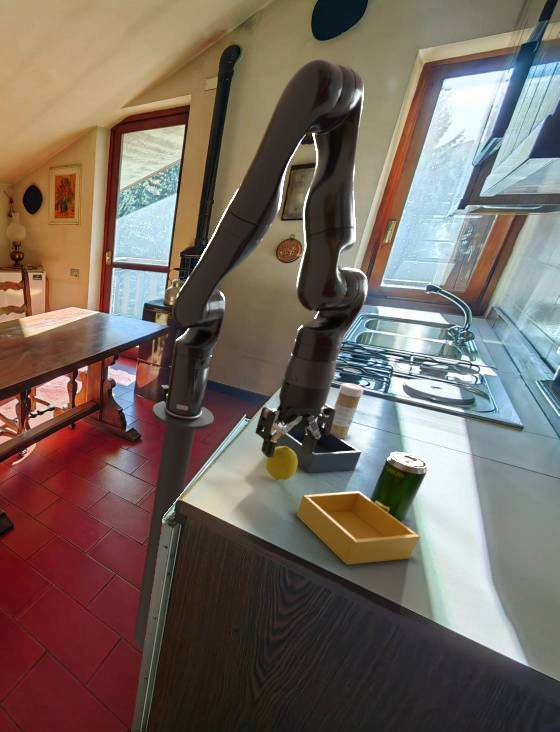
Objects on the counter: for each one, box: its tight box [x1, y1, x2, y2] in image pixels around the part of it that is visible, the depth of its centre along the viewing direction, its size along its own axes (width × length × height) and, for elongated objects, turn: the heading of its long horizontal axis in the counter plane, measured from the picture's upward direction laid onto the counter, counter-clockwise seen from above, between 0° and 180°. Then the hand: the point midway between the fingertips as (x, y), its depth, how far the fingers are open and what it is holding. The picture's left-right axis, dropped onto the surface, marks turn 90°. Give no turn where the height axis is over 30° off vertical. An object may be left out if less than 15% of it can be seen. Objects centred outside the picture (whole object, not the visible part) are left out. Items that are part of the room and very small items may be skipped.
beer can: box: [369, 451, 429, 523], centre depth 69 cm, size 5×5×12 cm
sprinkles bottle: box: [330, 382, 365, 439], centre depth 97 cm, size 5×5×13 cm
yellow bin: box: [296, 490, 421, 565], centre depth 66 cm, size 11×11×5 cm
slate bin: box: [275, 429, 362, 474], centre depth 88 cm, size 11×11×5 cm
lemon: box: [265, 446, 299, 481], centre depth 80 cm, size 6×6×8 cm
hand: (286, 454), depth 78 cm, fingers open, 8 cm apart
